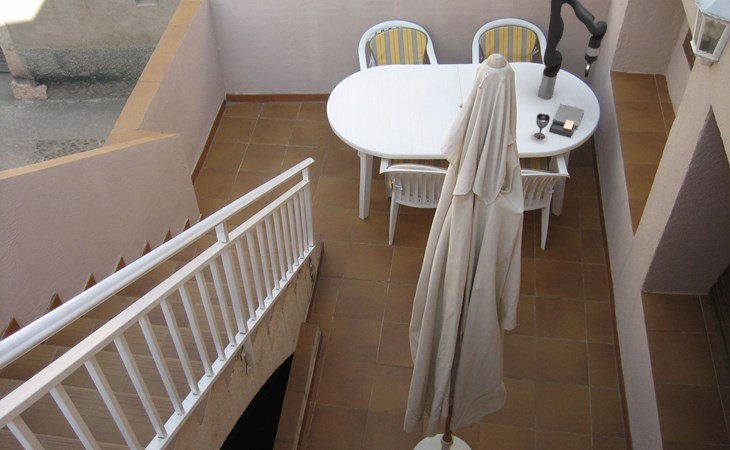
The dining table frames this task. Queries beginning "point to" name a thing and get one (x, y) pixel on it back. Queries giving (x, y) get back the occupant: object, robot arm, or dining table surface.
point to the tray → (560, 129)
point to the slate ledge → (568, 114)
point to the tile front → (567, 128)
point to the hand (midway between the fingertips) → (586, 76)
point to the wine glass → (541, 124)
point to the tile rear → (569, 123)
